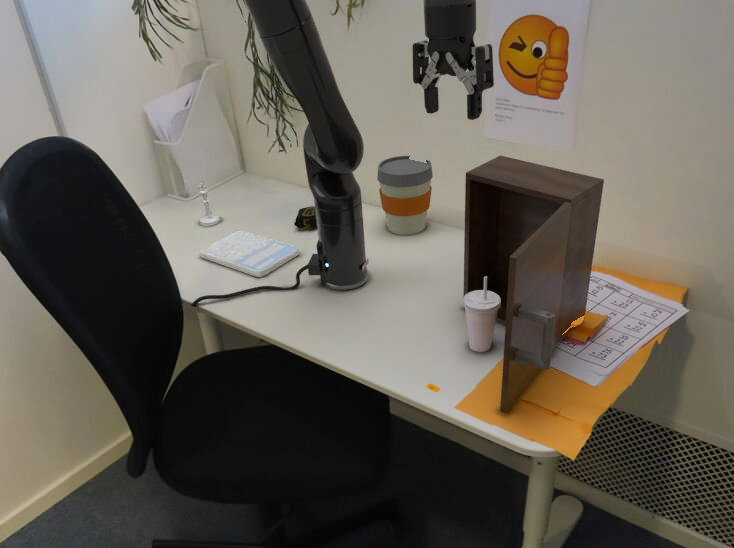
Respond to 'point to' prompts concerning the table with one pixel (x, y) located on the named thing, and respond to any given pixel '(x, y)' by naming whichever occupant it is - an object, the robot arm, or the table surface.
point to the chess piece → (207, 210)
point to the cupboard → (528, 227)
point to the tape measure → (306, 218)
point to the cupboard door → (533, 304)
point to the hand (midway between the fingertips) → (452, 115)
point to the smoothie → (481, 317)
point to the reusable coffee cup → (405, 193)
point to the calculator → (249, 253)
